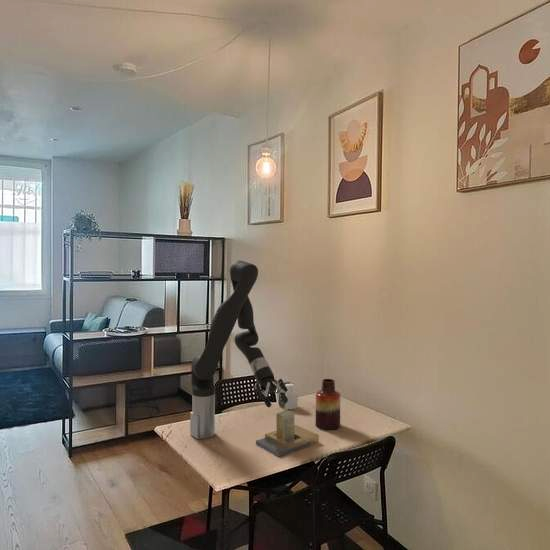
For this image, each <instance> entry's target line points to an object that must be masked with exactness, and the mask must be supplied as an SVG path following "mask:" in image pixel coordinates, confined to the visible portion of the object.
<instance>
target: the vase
mask: <svg viewBox="0 0 550 550" xmlns="http://www.w3.org/2000/svg"><path fill="white" fill-rule="evenodd" d="M335 381H336V380H334V379H332V378H323V379H322V382H321V389H320V390H318V391H316V393H315V423H314V424H315V427H316V428H317V429H318V430H319V429H320V430H321V431H322V430H323V431H327V432H328V431H330V432H331V431H337V430H339V429H340V427H341V398H342V397H341V393H340V392H339V391H337V390H336V384H335V383H336V382H335Z"/></svg>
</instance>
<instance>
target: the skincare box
mask: <svg viewBox="0 0 550 550" xmlns="http://www.w3.org/2000/svg"><path fill="white" fill-rule="evenodd" d="M275 415H276V417H275V418H276V422H275V423H276V431H277V436H278V437H280V438H282V439H284V440H285V441H287V442H290V441H293V440H295V437H294V425H295V412H293V411H291V410H283V411H281V412H277V413H276V414H275Z"/></svg>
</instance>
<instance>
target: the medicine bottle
mask: <svg viewBox="0 0 550 550" xmlns="http://www.w3.org/2000/svg"><path fill="white" fill-rule="evenodd" d="M284 384H285V386H286V388H287V389H288V391H287V392H286V393H285V395H286V396H287V398H288V402H287V403H286V404H284V403H283V401H282V398H281V395H279V394H278V407H280V408H281V409H282V408H283V409H282V410H283V411H286V410H288V409H290V410H297V409H298V400H299V399H298V398H299V397H298V393H297V392H295V384H294V383H293V382H290V381H289V382H288V381H287V382H284ZM283 389H284V388H283Z"/></svg>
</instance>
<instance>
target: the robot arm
mask: <svg viewBox="0 0 550 550" xmlns="http://www.w3.org/2000/svg"><path fill="white" fill-rule="evenodd" d="M229 277H230V280H231V281H230V282H231V285H232V289H233V292H232V293H231V295H230V296H229V297H227V298H226V300H225V299H224V301H223V302H222V303H221V304H220V305H219V306H218V308H217V310H216V312H215V314H214V316H213V319H212V320H211V324H210V326H209V327H210V328H209V333H208V338H207V342H206V346H205V347H204V350H203V351H202V353H199V354H197V355H196V356H195V357H194V358H193V359H192V361H191V370H190V371H191V389H192V394H191V395H192V401H191V403H192V407H191V408H192V409H191V410H192V411H190V416H189V417H190V418H189V421H190V423H189V425H190V427H189V433H190V436H192V437H193V438H195V439H197V440H200V439H203V440H204V439H210V438H212V437H214V436H215V431H216V430H215V429H216V428H215V426H216V425H215V424H216V422H215V421H216V417H215V416H216V415H215V413H216V412H215V411H216V386H215V379H214V375H215V374H216V372H217V370H218V366H219V364H220V360H221V356H222V354H223V351H224V349H225V346H226V345H227V342H228V341H229V339H230V336H231V334H232V331H233V330H234V327H235V325H236V323H237V325H238V328H239V329H241V330H245V331H242V332H238V333H237V334H236V335H234V343H235V346H236V348H238V350H239V351H240V352H241V353H242V354H243V355H244V356H245V358H246V359H247V362H248V364H249V366H250V369H251V372H252V374H253V377H254V378H255V380H256V383H255V384H254V386H253V389H254V392H255V394H256V397H257V399H258V400H262V401H263V402H264V404H265V407H267V408H268V409H269V408H271V407H272V405H273V404H272V402H271V400H270V398H269V396H268V394H271V393H275V394H277V395H278V396H279V395H281V398H282V401H283V403H284V404H286V403H287V402H288V398H287V396H286V395H285V393H286V392H287V391H288V389H287V388H286V386H285V384H284V383H285V382H284V381H283V379H282V378H279V379H278V380H276V379H275V374H274V372H273V370H272V369H271V367H270V364H269V362H268V360H267V359H266V358H265V355H264V353H263V352H262V350H261V348H259V347H254V346H256V345H257V344H258V343H259V340H260V339H259V335H258V332H257V329H256V325H255V322H254V321H255V320H254V307H253V305H252V302H251V300H250V297H249V294H250V292H251V291H252V289H253V287H254V286H255V283H256V281H257V279H258V277H259V269H258V267H257V265H255V264H254V263H251V262H247V261H244V260H235V261H234V262H232V264H231V265H230V268H229ZM283 388H284V389H283Z"/></svg>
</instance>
